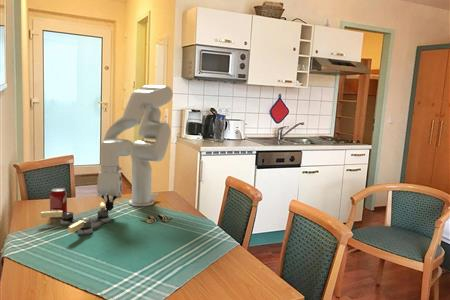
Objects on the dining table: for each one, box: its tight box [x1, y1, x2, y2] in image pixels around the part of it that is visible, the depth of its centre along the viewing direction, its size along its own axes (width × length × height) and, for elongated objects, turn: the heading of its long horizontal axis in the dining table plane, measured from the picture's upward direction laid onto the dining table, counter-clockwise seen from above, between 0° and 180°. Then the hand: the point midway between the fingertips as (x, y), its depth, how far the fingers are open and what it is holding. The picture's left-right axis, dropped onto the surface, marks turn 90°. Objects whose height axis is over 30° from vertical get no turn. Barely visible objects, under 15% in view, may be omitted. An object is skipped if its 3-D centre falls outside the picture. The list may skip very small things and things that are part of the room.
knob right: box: [38, 210, 74, 221], centre depth 155 cm, size 13×4×4 cm, turn 109°
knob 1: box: [67, 220, 91, 234], centre depth 144 cm, size 13×4×4 cm, turn 169°
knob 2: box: [97, 202, 109, 219], centre depth 165 cm, size 13×4×4 cm, turn 20°
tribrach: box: [60, 215, 110, 236], centre depth 157 cm, size 17×19×3 cm
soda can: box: [49, 187, 68, 219], centre depth 166 cm, size 7×7×12 cm
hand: (109, 209), depth 168 cm, fingers closed
